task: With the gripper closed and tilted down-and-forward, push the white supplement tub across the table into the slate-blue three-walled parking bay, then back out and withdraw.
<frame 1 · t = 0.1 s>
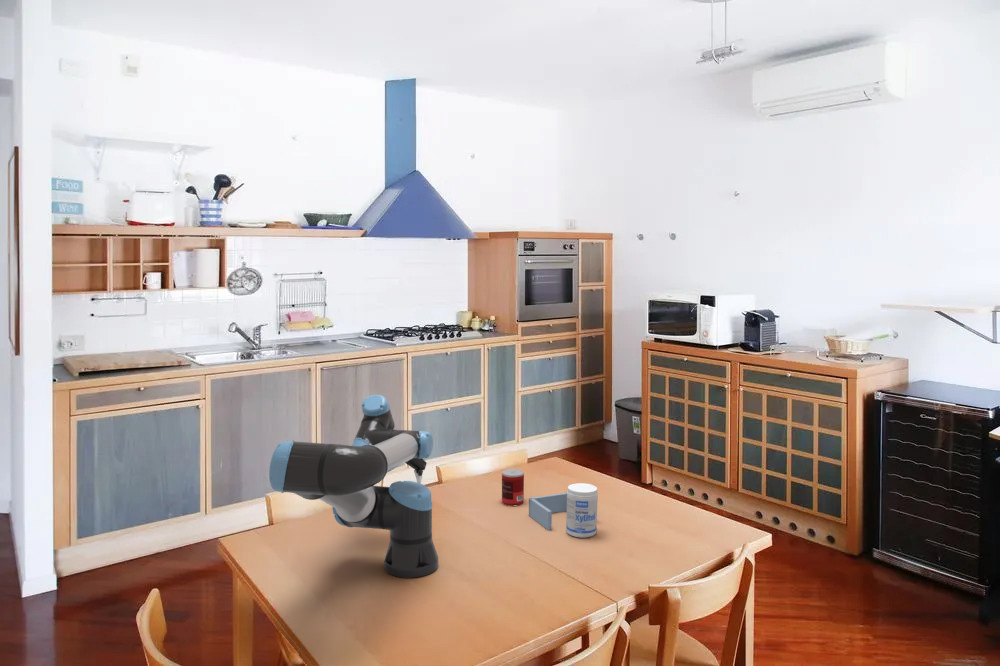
hand: (399, 479, 238), 15 cm above the table, tool tilted 35°, fingers open, 13 cm apart
bay: (564, 520, 245), on the table
canned food: (512, 502, 262), on the table
supplement tub: (581, 533, 235), on the table
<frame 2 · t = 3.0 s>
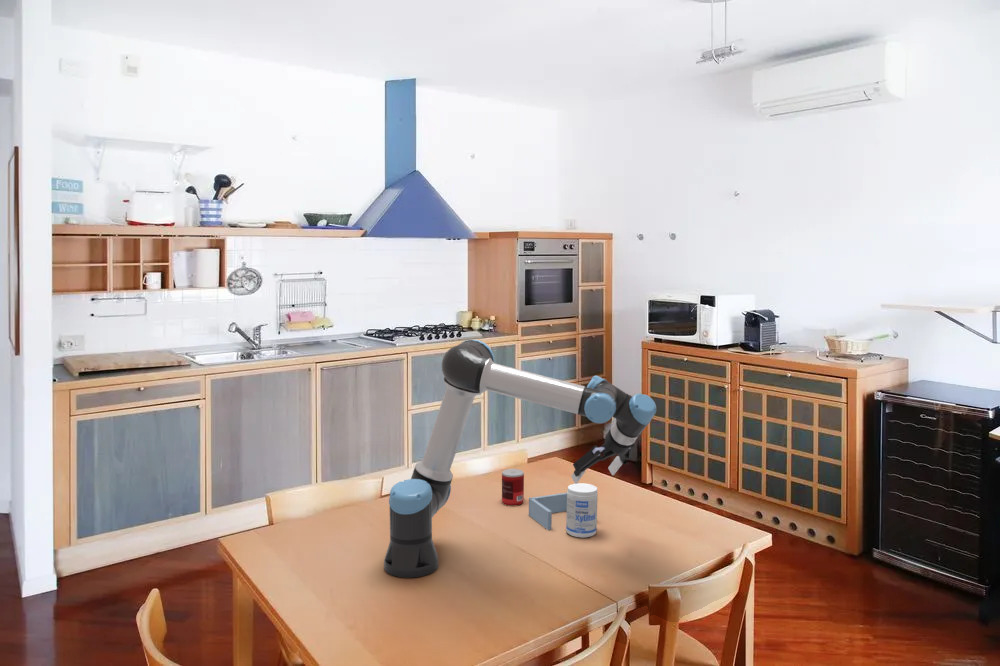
hand: (592, 475, 225), 21 cm above the table, tool tilted 45°, fingers open, 13 cm apart
nothing on the table moved.
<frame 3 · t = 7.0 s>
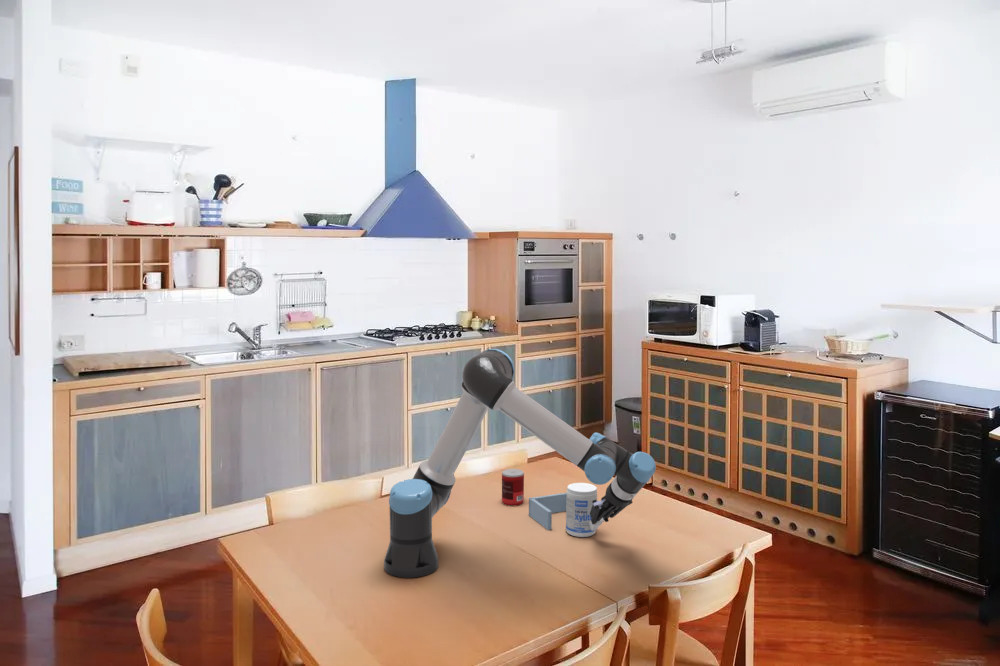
hand: (592, 526, 229), 4 cm above the table, tool tilted 45°, fingers closed
supplement tub: (581, 532, 235), on the table, touching gripper
everything else where it was.
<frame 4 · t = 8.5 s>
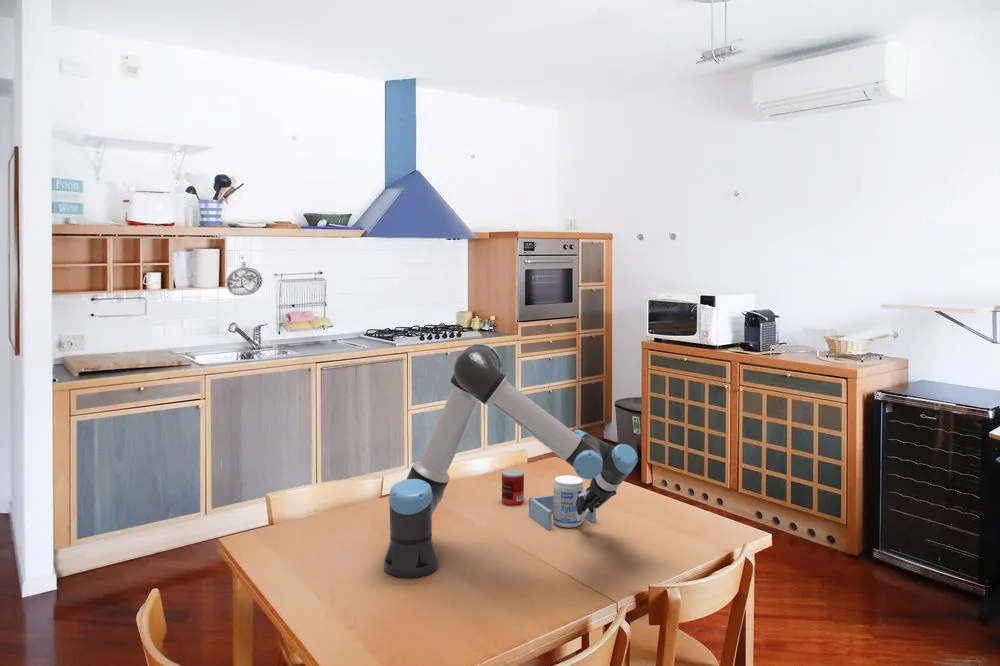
hand: (578, 516, 237), 4 cm above the table, tool tilted 45°, fingers closed
supplement tub: (567, 523, 243), on the table, touching gripper
everything else where it was.
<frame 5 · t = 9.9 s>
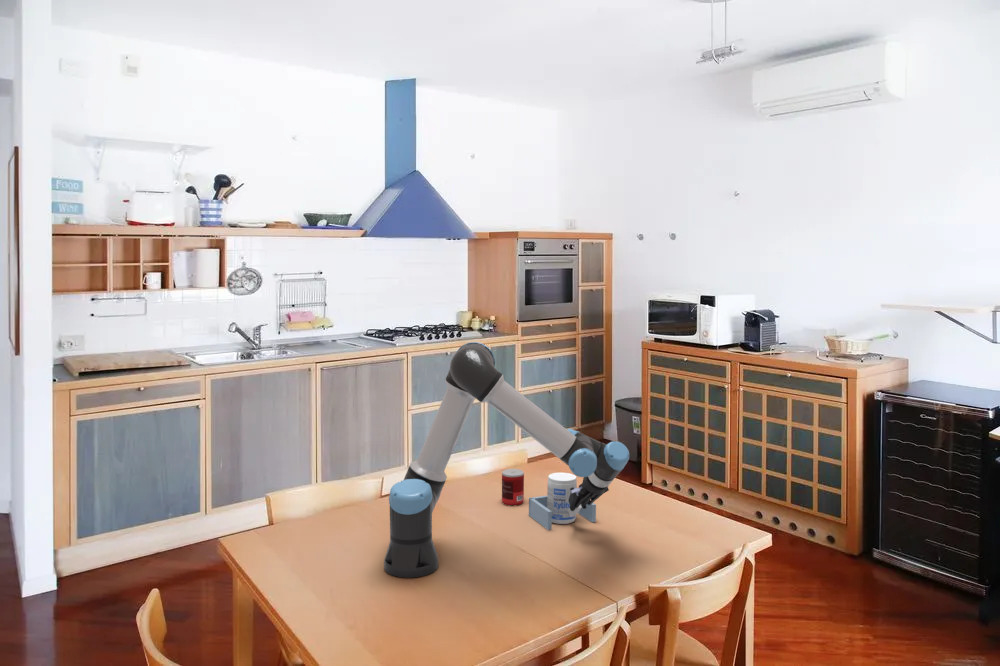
hand: (571, 513, 240), 4 cm above the table, tool tilted 45°, fingers closed
supplement tub: (561, 520, 246), on the table, touching gripper
everything else where it was.
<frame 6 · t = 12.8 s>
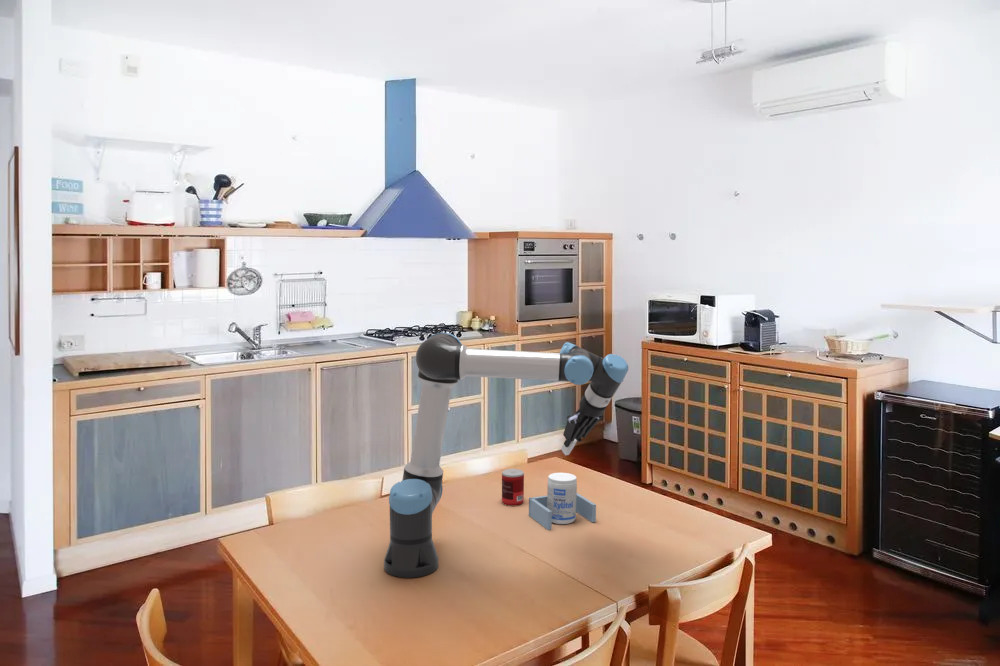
hand: (564, 451, 231), 26 cm above the table, tool tilted 35°, fingers closed
supplement tub: (561, 520, 246), on the table
everything else where it was.
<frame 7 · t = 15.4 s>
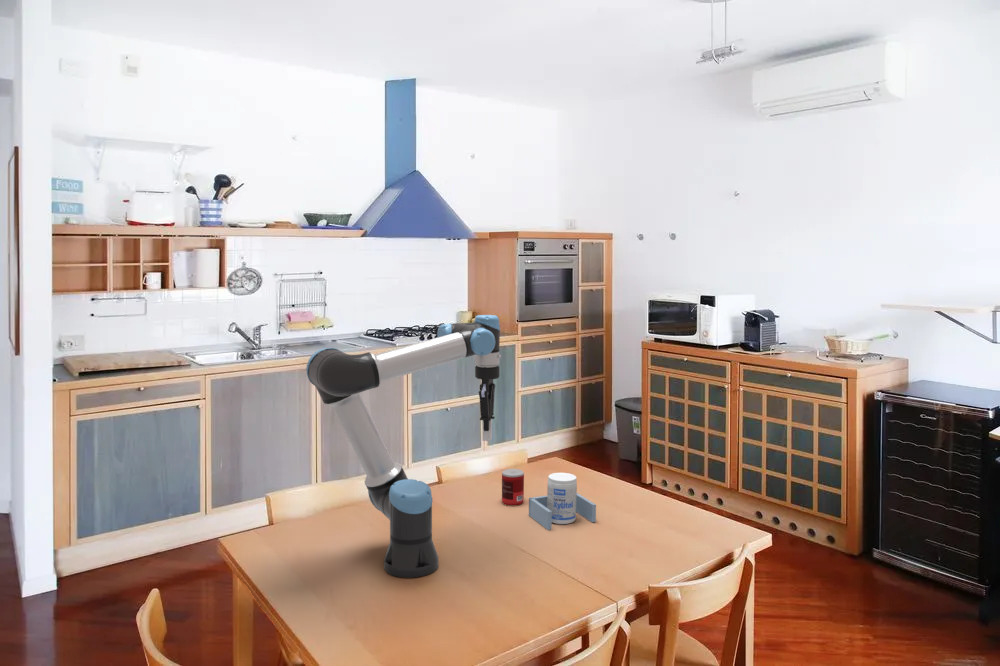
hand: (487, 440, 232), 29 cm above the table, tool pointing down, fingers closed
nothing on the table moved.
at the end: supplement tub 1.5 cm from the bay (horizontally); supplement tub tilted 0° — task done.
